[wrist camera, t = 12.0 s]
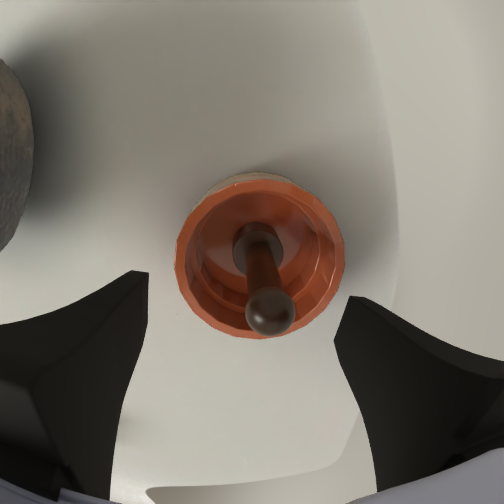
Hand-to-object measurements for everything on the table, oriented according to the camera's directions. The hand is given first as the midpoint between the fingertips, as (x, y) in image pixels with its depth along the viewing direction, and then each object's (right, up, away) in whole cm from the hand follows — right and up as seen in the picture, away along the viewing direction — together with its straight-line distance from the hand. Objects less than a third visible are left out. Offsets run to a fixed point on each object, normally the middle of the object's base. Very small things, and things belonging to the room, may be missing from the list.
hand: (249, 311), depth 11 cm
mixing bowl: (0, +3, +10) cm, 10 cm away
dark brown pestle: (0, +3, +10) cm, 10 cm away
